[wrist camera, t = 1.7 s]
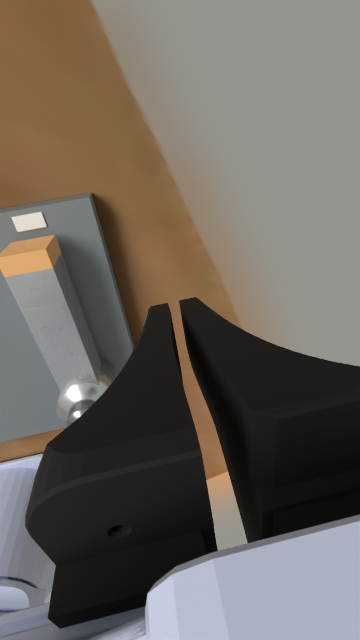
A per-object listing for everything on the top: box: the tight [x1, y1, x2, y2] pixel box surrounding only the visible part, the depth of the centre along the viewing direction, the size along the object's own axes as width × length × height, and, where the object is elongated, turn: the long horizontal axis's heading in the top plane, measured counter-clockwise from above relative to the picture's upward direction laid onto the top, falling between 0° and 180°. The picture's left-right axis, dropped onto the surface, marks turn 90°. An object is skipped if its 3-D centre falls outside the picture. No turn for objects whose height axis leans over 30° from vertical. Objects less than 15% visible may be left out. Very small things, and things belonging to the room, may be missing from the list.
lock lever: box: [0, 235, 115, 424], centre depth 19 cm, size 12×4×3 cm, turn 8°
